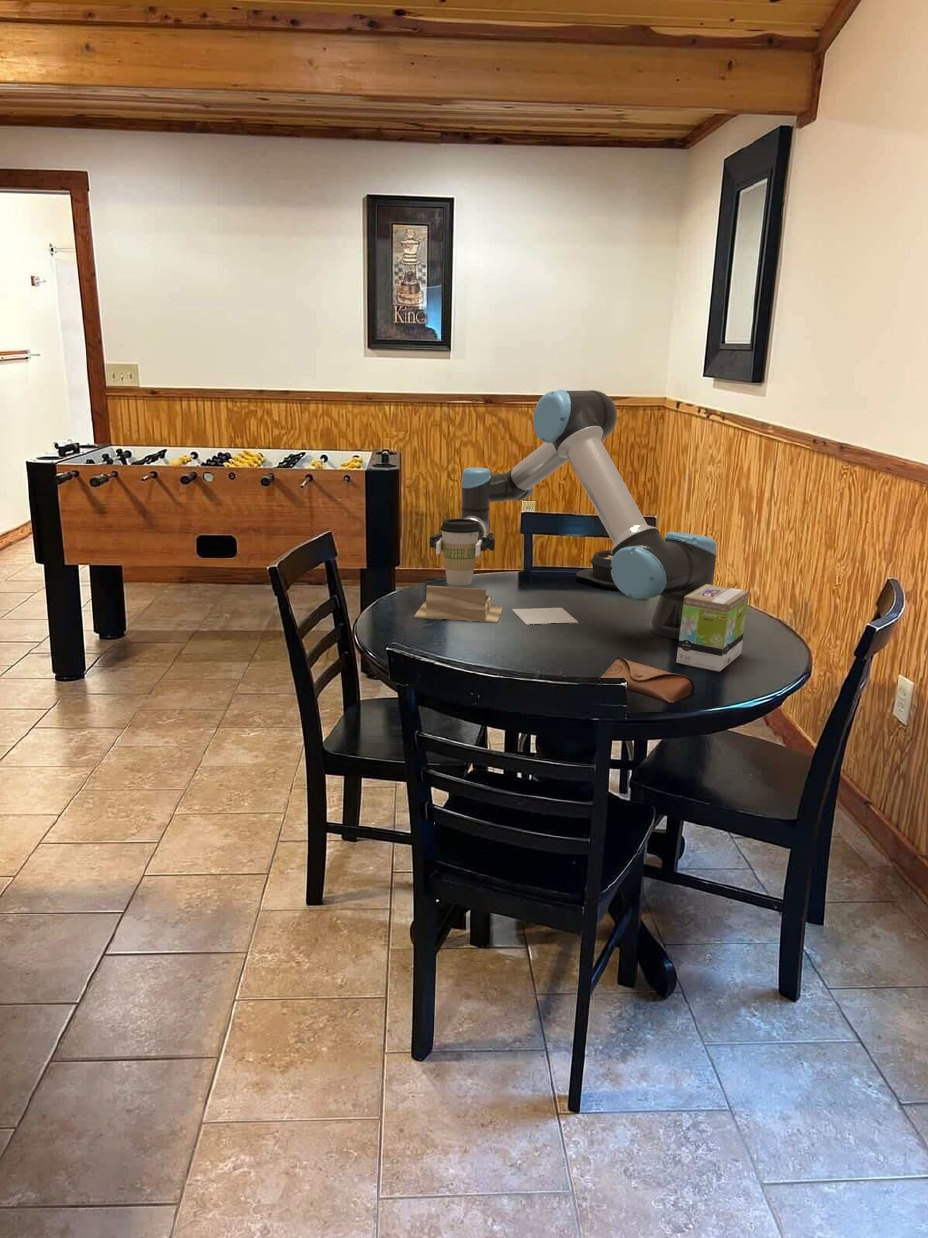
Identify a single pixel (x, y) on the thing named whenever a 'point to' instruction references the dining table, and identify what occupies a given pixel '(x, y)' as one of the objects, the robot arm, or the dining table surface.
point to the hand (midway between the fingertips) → (457, 549)
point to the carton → (458, 605)
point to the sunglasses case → (651, 680)
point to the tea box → (712, 627)
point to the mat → (544, 616)
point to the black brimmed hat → (600, 569)
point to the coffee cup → (459, 549)
